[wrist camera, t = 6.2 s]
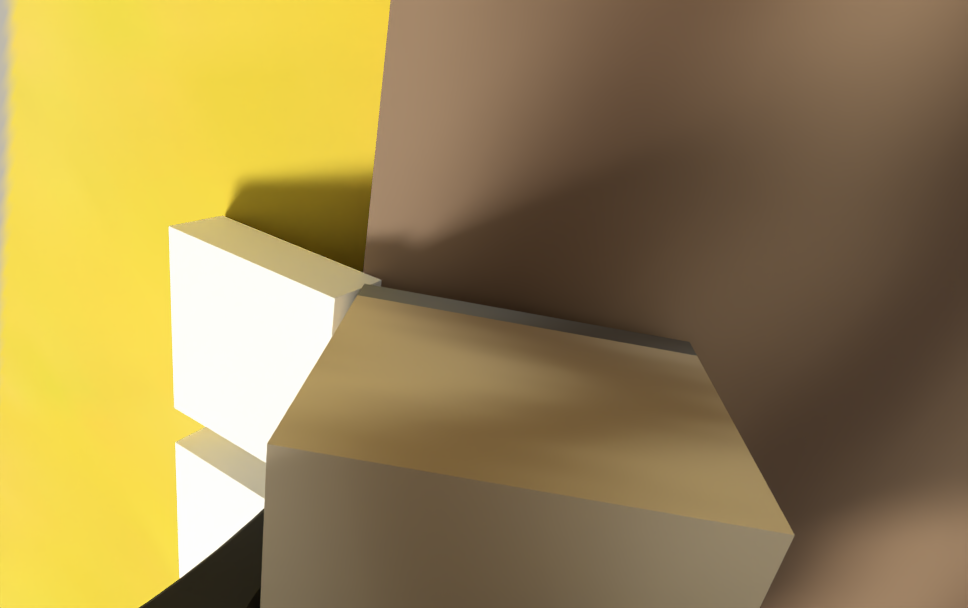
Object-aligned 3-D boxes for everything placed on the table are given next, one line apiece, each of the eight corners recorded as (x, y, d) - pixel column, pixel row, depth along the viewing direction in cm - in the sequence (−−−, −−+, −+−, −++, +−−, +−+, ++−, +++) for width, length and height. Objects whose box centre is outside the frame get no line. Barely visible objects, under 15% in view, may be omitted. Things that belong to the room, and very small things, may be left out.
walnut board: (1561, 68, 10) (1725, 75, 9) (926, 853, 19) (957, 917, 17) (426, -144, 10) (408, -172, 9) (327, 734, 19) (310, 789, 17)
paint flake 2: (381, 279, 11) (335, 298, 10) (361, 462, 13) (318, 494, 12) (222, 215, 13) (168, 226, 12) (221, 385, 14) (174, 407, 13)
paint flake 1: (356, 497, 13) (315, 530, 12) (341, 632, 15) (303, 672, 14) (221, 418, 15) (175, 442, 14) (221, 548, 16) (179, 577, 15)
